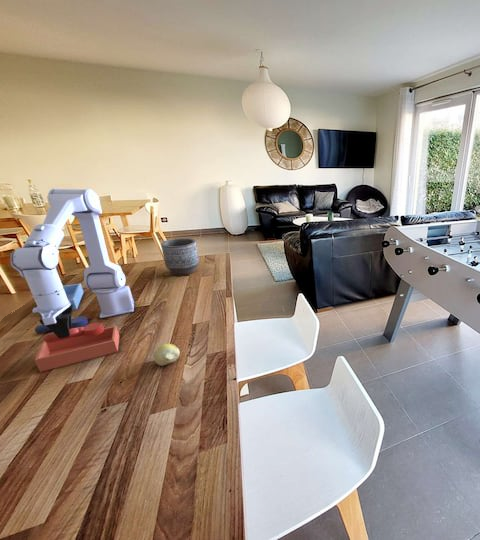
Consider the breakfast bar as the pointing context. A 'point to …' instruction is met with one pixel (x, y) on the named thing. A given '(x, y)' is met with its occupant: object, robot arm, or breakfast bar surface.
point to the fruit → (166, 354)
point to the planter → (180, 255)
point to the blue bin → (73, 294)
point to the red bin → (77, 349)
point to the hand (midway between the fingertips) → (65, 334)
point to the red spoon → (77, 332)
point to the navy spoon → (76, 323)
